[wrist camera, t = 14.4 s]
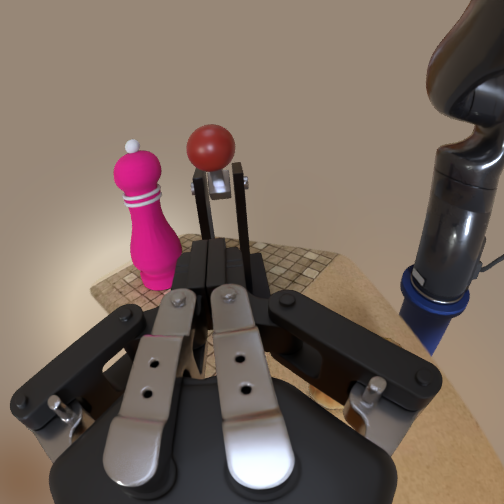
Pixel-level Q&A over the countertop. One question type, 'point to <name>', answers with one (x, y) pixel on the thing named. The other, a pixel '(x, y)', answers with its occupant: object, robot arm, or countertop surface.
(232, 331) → the robot arm
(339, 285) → the countertop surface
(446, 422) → the countertop surface
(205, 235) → the bracket
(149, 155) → the pepper mill
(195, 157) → the lever
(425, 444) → the countertop surface
